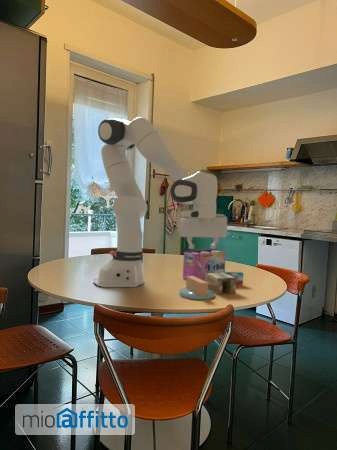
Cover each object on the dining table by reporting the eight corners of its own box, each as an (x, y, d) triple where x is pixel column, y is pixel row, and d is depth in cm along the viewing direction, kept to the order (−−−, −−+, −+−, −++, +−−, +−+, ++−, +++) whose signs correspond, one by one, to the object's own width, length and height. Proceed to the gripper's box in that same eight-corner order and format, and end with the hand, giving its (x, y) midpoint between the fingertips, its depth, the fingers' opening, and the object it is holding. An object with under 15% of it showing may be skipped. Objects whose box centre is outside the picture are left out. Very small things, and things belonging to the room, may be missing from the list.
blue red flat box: (241, 285, 148) (242, 271, 147) (242, 285, 146) (243, 272, 146) (216, 284, 146) (217, 271, 146) (217, 285, 145) (218, 272, 144)
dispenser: (217, 295, 128) (218, 278, 128) (204, 288, 138) (205, 272, 138) (236, 293, 132) (237, 277, 131) (222, 286, 142) (223, 272, 142)
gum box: (215, 274, 170) (216, 248, 169) (226, 277, 164) (228, 251, 163) (182, 279, 155) (183, 251, 154) (193, 282, 149) (194, 253, 148)
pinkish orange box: (200, 296, 121) (201, 283, 121) (186, 288, 132) (186, 276, 132) (207, 295, 123) (207, 282, 122) (192, 287, 134) (193, 275, 133)
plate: (188, 301, 118) (188, 298, 118) (173, 291, 131) (173, 288, 131) (220, 298, 123) (221, 295, 123) (203, 289, 136) (203, 286, 136)
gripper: (223, 214, 130) (220, 247, 131) (177, 212, 122) (175, 247, 123) (231, 214, 124) (229, 249, 125) (184, 212, 116) (182, 250, 117)
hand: (202, 248), depth 124 cm, fingers open, 8 cm apart
